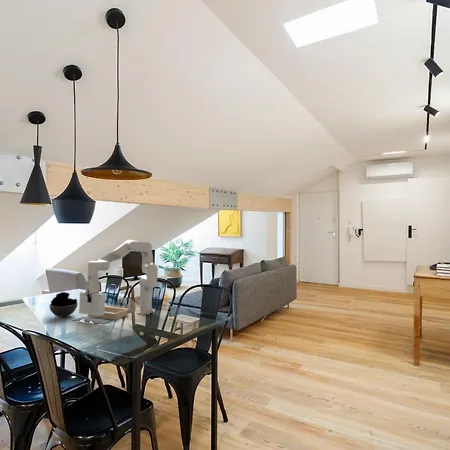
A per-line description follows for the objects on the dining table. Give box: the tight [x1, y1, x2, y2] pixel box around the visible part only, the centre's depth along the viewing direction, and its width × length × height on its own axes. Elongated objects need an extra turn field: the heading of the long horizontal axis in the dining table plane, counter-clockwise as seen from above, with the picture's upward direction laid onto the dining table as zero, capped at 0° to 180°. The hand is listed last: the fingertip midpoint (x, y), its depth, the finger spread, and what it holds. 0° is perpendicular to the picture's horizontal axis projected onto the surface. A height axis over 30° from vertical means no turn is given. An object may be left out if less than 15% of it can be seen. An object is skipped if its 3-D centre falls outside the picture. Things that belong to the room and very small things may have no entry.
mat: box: [72, 316, 112, 325], centre depth 253 cm, size 27×11×1 cm, turn 69°
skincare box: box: [78, 291, 106, 316], centre depth 253 cm, size 21×5×16 cm, turn 66°
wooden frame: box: [87, 305, 129, 321], centre depth 270 cm, size 27×19×5 cm
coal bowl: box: [49, 291, 79, 318], centre depth 264 cm, size 20×20×19 cm
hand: (92, 301), depth 253 cm, fingers closed on skincare box, 5 cm apart
